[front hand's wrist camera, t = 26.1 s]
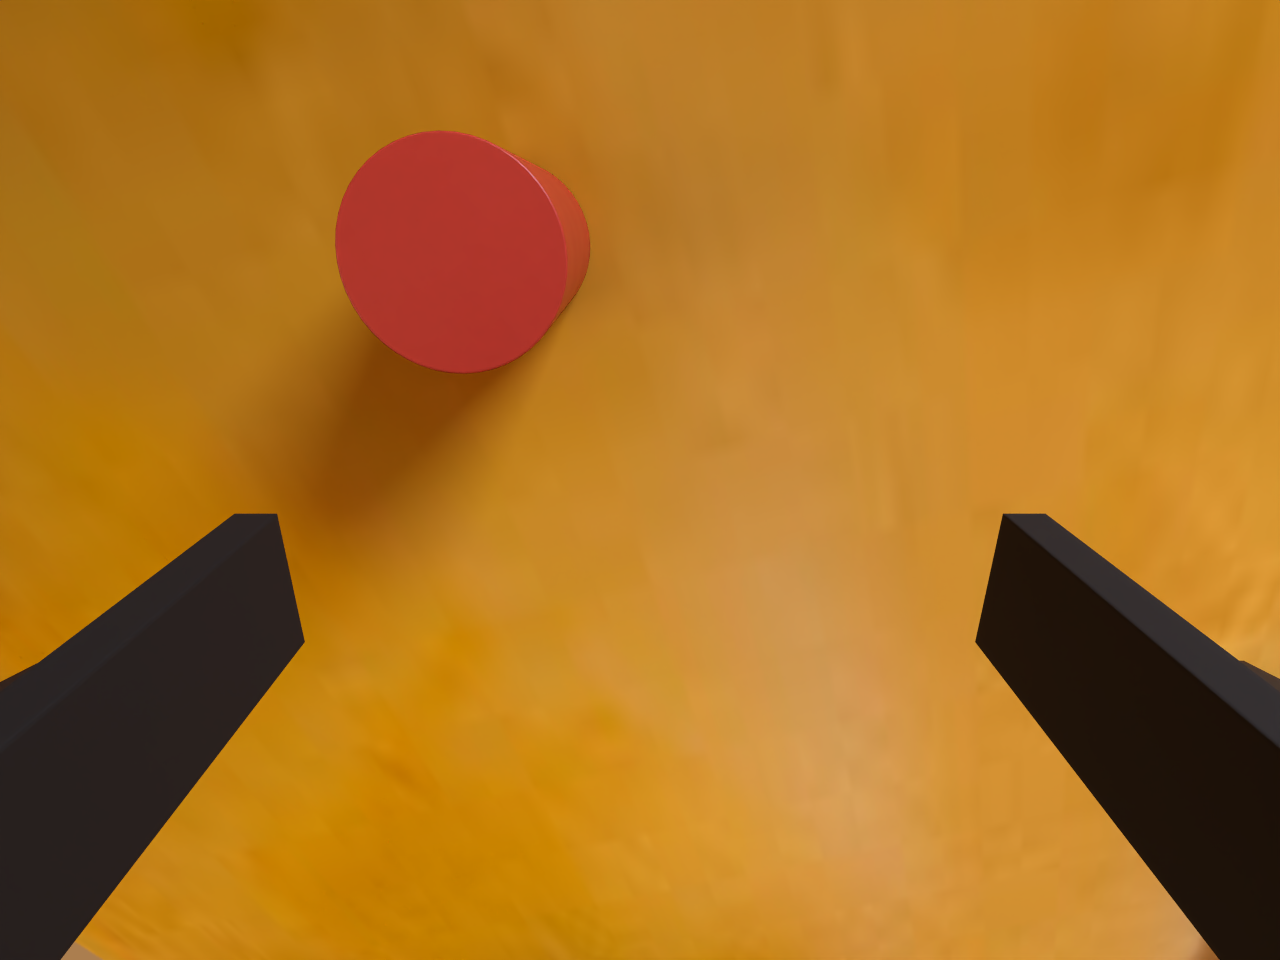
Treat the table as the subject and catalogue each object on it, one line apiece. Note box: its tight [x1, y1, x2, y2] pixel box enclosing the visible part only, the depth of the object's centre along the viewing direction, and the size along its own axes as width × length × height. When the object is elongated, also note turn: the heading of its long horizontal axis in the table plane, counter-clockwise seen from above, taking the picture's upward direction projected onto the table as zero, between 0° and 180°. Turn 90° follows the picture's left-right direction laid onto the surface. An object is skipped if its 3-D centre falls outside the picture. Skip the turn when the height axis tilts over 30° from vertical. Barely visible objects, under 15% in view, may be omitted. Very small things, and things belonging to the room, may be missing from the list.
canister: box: [335, 131, 590, 374], centre depth 23 cm, size 6×6×10 cm
